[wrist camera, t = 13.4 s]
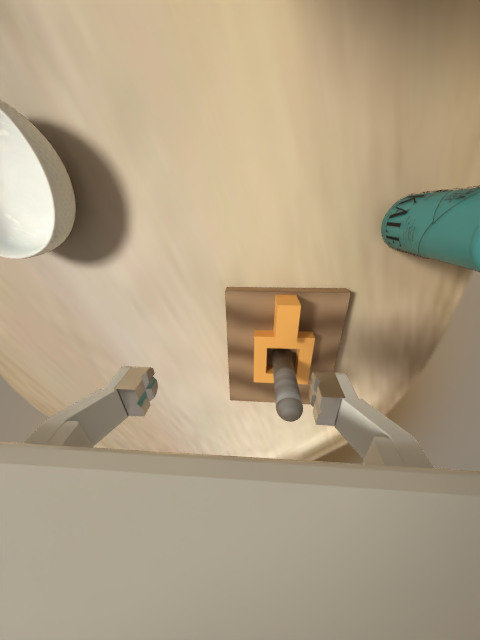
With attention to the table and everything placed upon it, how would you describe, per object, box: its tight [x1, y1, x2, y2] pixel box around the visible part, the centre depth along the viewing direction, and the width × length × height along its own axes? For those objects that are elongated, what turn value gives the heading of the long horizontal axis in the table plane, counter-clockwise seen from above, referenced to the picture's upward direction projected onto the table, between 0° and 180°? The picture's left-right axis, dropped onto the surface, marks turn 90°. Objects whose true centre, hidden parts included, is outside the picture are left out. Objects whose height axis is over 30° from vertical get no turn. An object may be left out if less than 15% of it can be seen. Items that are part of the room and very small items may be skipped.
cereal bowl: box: [0, 100, 76, 259], centre depth 27 cm, size 17×17×7 cm
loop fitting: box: [254, 295, 315, 385], centre depth 34 cm, size 15×9×4 cm, turn 1°
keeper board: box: [225, 287, 351, 422], centre depth 32 cm, size 22×18×15 cm
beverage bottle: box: [381, 186, 480, 272], centre depth 20 cm, size 6×7×20 cm
